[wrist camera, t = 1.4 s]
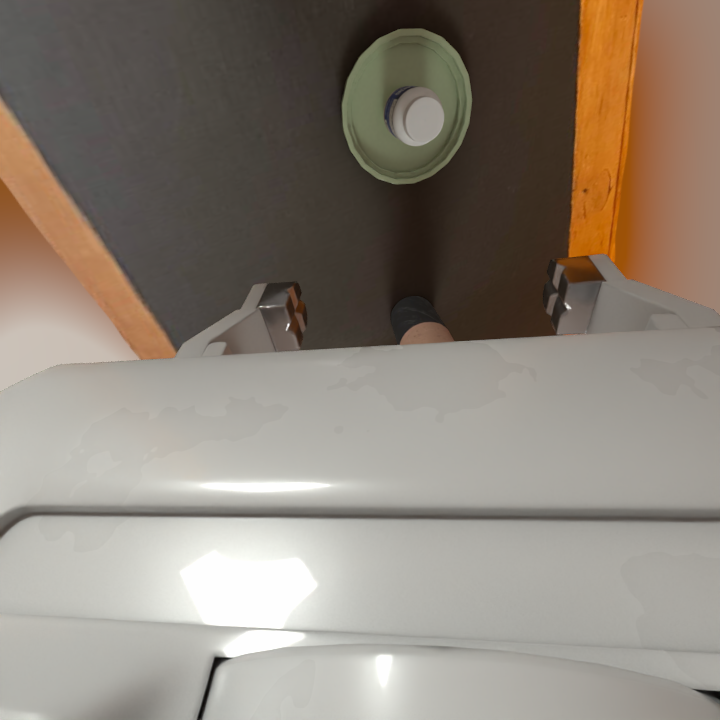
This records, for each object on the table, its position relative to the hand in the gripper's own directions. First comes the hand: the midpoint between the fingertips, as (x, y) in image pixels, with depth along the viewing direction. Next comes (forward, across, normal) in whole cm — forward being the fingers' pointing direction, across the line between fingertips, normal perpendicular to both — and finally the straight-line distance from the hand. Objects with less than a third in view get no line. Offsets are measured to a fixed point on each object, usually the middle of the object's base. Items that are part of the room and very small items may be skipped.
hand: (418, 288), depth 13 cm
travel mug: (+41, +1, +31) cm, 52 cm away
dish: (+44, 0, +3) cm, 44 cm away
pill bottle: (+44, 0, +3) cm, 44 cm away
